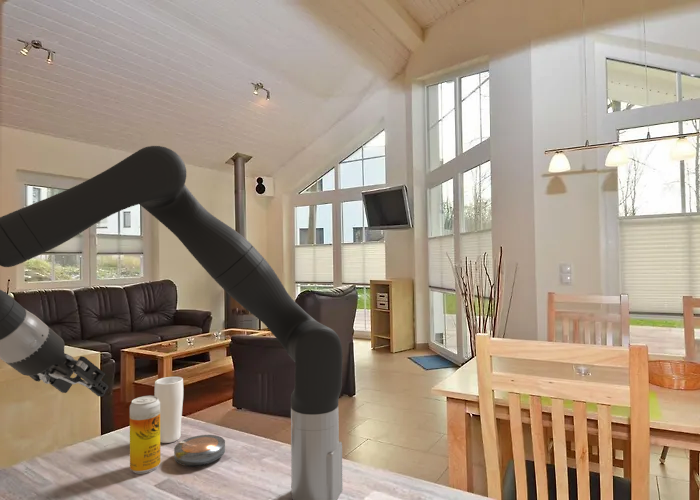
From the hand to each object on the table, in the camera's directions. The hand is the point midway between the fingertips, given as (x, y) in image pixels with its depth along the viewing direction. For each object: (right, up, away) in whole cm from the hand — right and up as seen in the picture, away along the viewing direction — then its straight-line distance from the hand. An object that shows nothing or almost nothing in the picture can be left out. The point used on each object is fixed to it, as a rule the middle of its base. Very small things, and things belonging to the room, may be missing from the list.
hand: (86, 390), depth 81 cm
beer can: (+4, -22, +14) cm, 27 cm away
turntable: (+15, -22, +19) cm, 32 cm away
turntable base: (+15, -22, +19) cm, 32 cm away
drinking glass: (+4, -22, +29) cm, 36 cm away
